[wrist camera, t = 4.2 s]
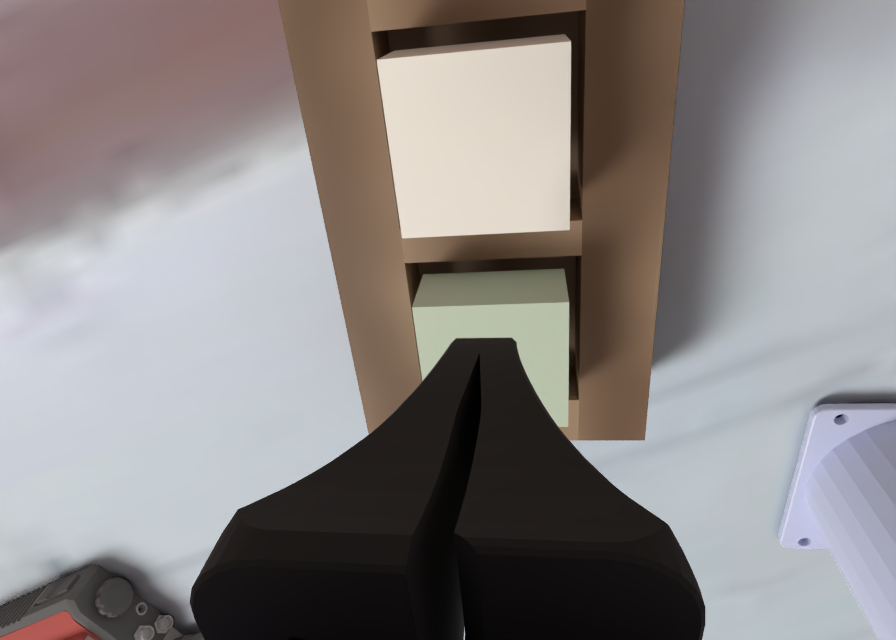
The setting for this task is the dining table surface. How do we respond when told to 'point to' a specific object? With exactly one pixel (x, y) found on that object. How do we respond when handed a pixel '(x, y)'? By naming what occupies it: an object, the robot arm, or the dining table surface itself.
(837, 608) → the dining table surface
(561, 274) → the key sage
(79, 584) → the walkie-talkie
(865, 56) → the dining table surface
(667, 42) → the wooden tray
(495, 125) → the key cream
